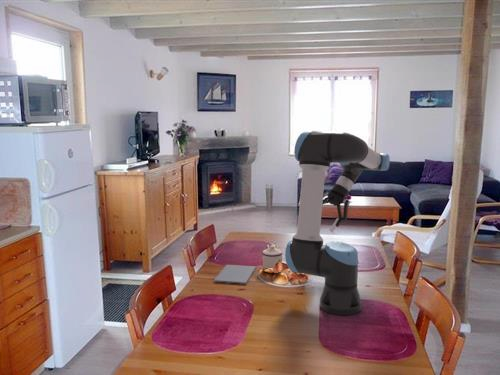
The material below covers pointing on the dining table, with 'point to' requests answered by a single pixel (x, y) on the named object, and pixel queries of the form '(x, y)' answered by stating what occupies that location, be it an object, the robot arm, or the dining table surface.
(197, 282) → the dining table surface
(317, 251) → the robot arm
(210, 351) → the dining table surface
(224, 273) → the serving board
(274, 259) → the teacup with lid
